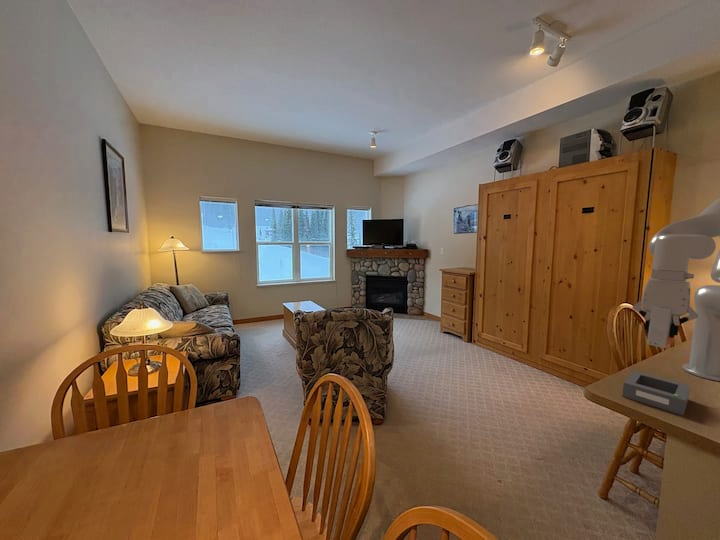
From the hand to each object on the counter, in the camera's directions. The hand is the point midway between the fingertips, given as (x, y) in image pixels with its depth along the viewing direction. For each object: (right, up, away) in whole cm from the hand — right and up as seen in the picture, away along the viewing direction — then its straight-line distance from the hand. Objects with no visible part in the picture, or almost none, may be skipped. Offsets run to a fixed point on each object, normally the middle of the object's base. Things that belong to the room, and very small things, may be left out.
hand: (660, 334), depth 95 cm
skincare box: (0, -4, 0) cm, 4 cm away
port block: (-3, -19, -1) cm, 19 cm away
